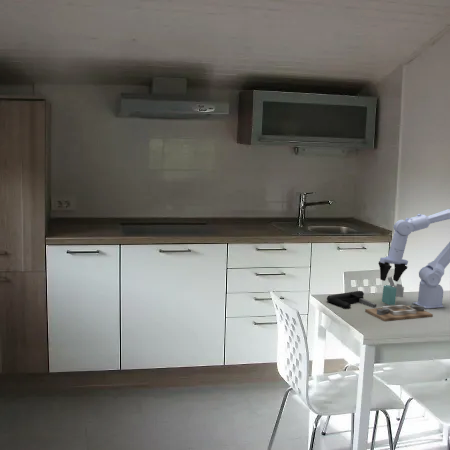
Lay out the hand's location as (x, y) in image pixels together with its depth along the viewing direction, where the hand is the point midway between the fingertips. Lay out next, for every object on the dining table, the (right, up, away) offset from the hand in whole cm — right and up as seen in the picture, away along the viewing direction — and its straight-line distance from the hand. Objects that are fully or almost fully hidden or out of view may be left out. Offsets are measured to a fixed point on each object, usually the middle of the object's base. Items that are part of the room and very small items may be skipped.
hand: (389, 280), depth 246 cm
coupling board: (0, -12, -13) cm, 18 cm away
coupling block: (0, -10, +2) cm, 10 cm away
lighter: (+7, -8, +15) cm, 18 cm away
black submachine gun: (-14, -10, -1) cm, 18 cm away
